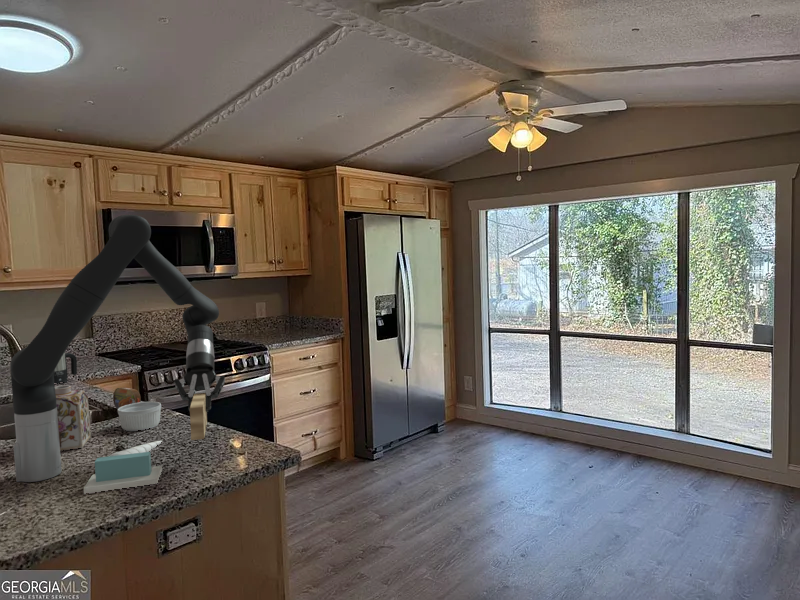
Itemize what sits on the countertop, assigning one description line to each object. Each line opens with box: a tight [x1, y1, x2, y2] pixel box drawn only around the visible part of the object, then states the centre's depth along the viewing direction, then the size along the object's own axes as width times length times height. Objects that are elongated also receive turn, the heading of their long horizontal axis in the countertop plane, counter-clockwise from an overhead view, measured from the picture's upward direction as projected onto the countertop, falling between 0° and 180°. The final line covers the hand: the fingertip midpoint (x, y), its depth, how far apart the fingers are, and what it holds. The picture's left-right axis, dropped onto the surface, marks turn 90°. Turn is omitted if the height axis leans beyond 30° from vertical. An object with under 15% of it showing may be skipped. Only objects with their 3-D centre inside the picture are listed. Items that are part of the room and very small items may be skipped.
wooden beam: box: [189, 392, 208, 441], centre depth 146 cm, size 16×3×8 cm, turn 17°
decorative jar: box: [55, 384, 92, 452], centre depth 169 cm, size 12×12×18 cm
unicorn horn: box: [109, 440, 163, 456], centre depth 158 cm, size 5×24×5 cm, turn 170°
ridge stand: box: [83, 451, 163, 495], centre depth 138 cm, size 16×9×6 cm, turn 106°
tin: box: [112, 386, 142, 410], centre depth 209 cm, size 15×3×8 cm, turn 55°
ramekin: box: [117, 401, 162, 432], centre depth 187 cm, size 13×13×7 cm
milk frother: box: [54, 351, 78, 383], centre depth 267 cm, size 14×16×15 cm
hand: (199, 410), depth 149 cm, fingers closed on wooden beam, 3 cm apart
